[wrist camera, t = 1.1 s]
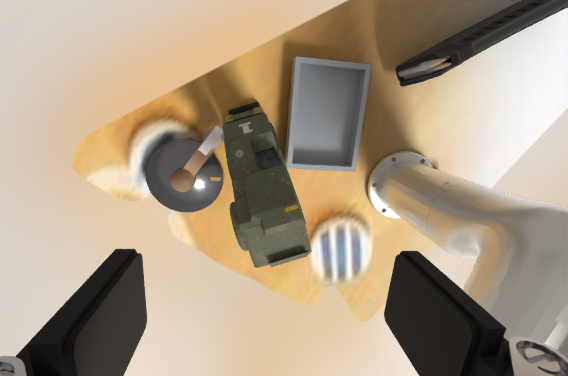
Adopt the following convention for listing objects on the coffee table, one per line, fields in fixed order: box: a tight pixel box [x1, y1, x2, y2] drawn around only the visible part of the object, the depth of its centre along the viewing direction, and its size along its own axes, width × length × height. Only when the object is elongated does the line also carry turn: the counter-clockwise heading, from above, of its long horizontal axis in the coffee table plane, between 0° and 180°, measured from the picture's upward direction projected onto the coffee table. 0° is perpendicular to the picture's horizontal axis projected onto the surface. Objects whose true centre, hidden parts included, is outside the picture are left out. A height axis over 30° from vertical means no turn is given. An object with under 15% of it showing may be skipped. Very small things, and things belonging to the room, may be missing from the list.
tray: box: [285, 56, 372, 172], centre depth 45 cm, size 12×17×3 cm
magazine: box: [396, 0, 568, 86], centre depth 41 cm, size 17×3×30 cm
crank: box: [170, 124, 224, 192], centre depth 40 cm, size 13×4×8 cm, turn 140°
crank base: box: [146, 139, 224, 212], centre depth 46 cm, size 12×12×2 cm
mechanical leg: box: [223, 102, 312, 268], centre depth 33 cm, size 14×7×30 cm, turn 15°
